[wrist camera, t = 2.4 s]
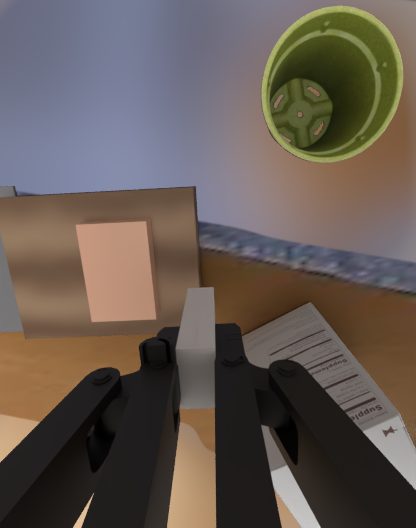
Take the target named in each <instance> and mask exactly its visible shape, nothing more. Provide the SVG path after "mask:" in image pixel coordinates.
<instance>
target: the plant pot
mask: <svg viewBox="0 0 416 528" xmlns="http://www.w3.org/2000/svg"><path fill="white" fill-rule="evenodd" d="M402 66H403V65H402V59H401V56H400V53H399V50H398V47H397V45H396V42H395V40H394V38H393V37H392V34H391V33H390V31H389V30H388V29H387V28H386V26H385V25H384V24H383V23H381V22H380V21H379V20H378V19H376V18H375V17H374V16H372V15H371V14H369V13H367V12H365V11H363V10H360V9H357V8H354V7H349V6H334V7H326V8H322V9H318V10H315V11H313V12H311V13H309V14H307V15H305V16H303V17H302V18H300V19H299V20H298V21H296V22H295V23H294V24H293V25H291V26H290V27H289V28H288V29H287V30H286V31H285V33H284V34H283V35H282V36H281V37H280V39H279V40H278V42H277V43H276V45H275V47H274V49H273V50H272V52H271V54H270V56H269V59H268V61H267V64H266V67H265V71H264V75H263V80H262V86H261V104H262V111H263V115H264V118H265V121H266V124H267V126H268V129H269V132H270V134H271V136H272V137H273V138H274V140H275V141H276V142H277V143H279V144H280V145H281V146H282V147H283V148H284V149H285V150H286V151H288V152H289V153H291V154H292V155H294V156H296V157H298V158H301V159H303V160H306V161H311V162H319V163H330V162H337V161H341V160H345V159H348V158H350V157H353V156H355V155H357V154H359V153H360V152H362V151H364V150H365V149H366V148H368V147H369V146H370V145H371V144H373V143H374V142H375V141H376V140H377V139H378V138H379V137H380V136H381V134H382V133H383V132H384V131H385V129H386V128H387V126H388V125H389V123H390V121H391V120H392V118H393V116H394V114H395V112H396V109H397V106H398V104H399V100H400V96H401V92H402V85H403V67H402ZM307 87H312V88H313V89H316V90H317V91H318V92H319V93H320V96H319V97H317V96H316V95H315V94H314V93H312V92H311V91H310V90H307ZM281 94H283V95H284V97H283V98H282V99H281V100H280V102H279V104H278V106H277V108H276V109H275V108H274V103H275V101H276V100H277V98H278V97H279V96H280V95H281ZM298 112H302V113H303V116H302V117H298V116H297V113H298ZM322 122H323V123H324V125H323V127H322V130H321V131H320V133H319V134H318V135H316V136H315V135H314V133H315V131H316V130H317V129H318V128H319V126H320V124H322ZM280 133H281V134H282V135H284V136H285V137H286V138H288V139H290V140H292V142H290V143H288V142H287V141H286V140H285V139H284V138H283V137H282V136H281V135H280Z"/></svg>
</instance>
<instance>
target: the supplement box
mask: <svg viewBox="0 0 416 528" xmlns="http://www.w3.org/2000/svg"><path fill="white" fill-rule="evenodd" d="M242 340H243V345H244V350H245V355H246V357H247V358H248V360H249V362H250V363H251V364H253V365H255V366H258V367H262V368H269V365H270V364H271V363H272V362H274V361H276V360H282V359H288V360H293V361H295V362H298V363H300V364H301V365H302V366H303V367H304V368H305V369H306V370H307V371H308V372H309V373H310V374H311V375H312V376H313V378H314V379H315V380H316V381H317V382H318V383H319V384H320V385H321V386H322V387H323V389H324V390H325V391H326V392H327V393H328V394H329V395H330V396H331V397H332V398H333V400H334V401H335V402H336V403H337V404H338V405H339V406H340V407H341V408H342V409H343V411H344V412H345V413H346V414H347V415H348V416H349V417H350V418H351V419H352V420H353V422H354V423H355V424H356V425H357V426H358V427H359V428H360V429H361V430H362V431H363V433H364V434H365V435H366V436H367V437H368V438H369V439H370V440H371V441H372V442H373V444H374V445H375V446H376V447H377V448H378V449H379V450H380V451H381V452H382V453H383V455H384V456H385V457H386V458H387V459H388V460H389V461H390V462H391V463H392V464H393V466H394V467H395V468H396V469H397V470H398V471H399V472H400V473H401V474H402V475H403V477H404V478H405V479H406V480H407V481H408V482H409V483H410V484H411V485H412V486H413V488H414V489H415V490H416V448H415V446H414V444H413V442H412V440H411V438H410V436H409V434H408V432H407V429H406V427H405V425H404V422H403V420H402V417H401V414H400V413H399V412H398V410H397V409H396V408H395V407H394V405H393V404H392V403H391V402H390V400H389V399H388V398H387V397H386V395H385V394H384V393H383V392H382V390H381V389H380V388H379V387H378V385H377V384H376V383H375V382H374V380H373V379H372V378H371V376H370V375H369V374H368V373H367V371H366V370H365V369H364V368H363V367H362V365H361V364H360V363H359V362H358V360H357V359H356V358H355V357H354V356H353V354H352V353H351V352H350V351H349V350H348V348H347V347H346V346H345V344H344V343H343V342H342V341H341V339H340V338H339V337H338V336H337V334H336V333H335V332H334V330H333V329H332V328H331V327H330V325H329V324H328V323H327V322H326V320H325V319H324V318H323V316H322V315H321V314H320V313H319V311H318V310H317V309H316V308H315V307H314V305H313V304H312V303H311V302H309V303H307V304H305V305H303V306H301V307H299V308H297V309H295V310H293V311H291V312H289V313H287V314H285V315H283V316H281V317H279V318H277V319H275V320H273V321H271V322H270V323H268V324H266V325H264V326H262V327H260V328H258V329H256V330H254V331H252V332H250V333H248V334H246V335H244V336H242ZM261 426H262V431H263V436H264V441H265V446H266V451H267V456H268V461H269V466H270V471H271V476H272V481H273V486H274V489H275V491H276V492H277V493H278V495H279V496H280V498H281V499H282V500H283V502H284V503H285V505H286V506H287V508H288V509H289V510H290V512H291V513H292V515H293V516H294V517H295V519H296V520H297V521H298V523H299V524H300V526H301V527H302V528H321V527H320V525H319V523H318V522H317V520H316V518H315V516H314V514H313V512H312V510H311V509H310V507H309V505H308V503H307V501H306V499H305V497H304V496H303V494H302V492H301V490H300V488H299V486H298V484H297V482H296V481H295V479H294V477H293V475H292V473H291V471H290V469H289V468H288V466H287V464H286V462H285V460H284V458H283V456H282V454H281V453H280V451H279V449H278V447H277V445H276V443H275V441H274V440H273V438H272V436H271V434H270V432H269V428H268V426H263V425H261Z"/></svg>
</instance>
